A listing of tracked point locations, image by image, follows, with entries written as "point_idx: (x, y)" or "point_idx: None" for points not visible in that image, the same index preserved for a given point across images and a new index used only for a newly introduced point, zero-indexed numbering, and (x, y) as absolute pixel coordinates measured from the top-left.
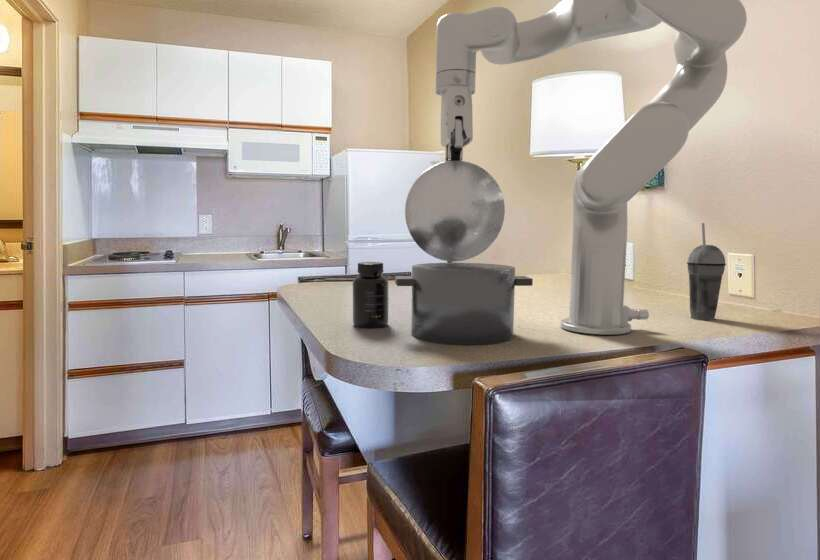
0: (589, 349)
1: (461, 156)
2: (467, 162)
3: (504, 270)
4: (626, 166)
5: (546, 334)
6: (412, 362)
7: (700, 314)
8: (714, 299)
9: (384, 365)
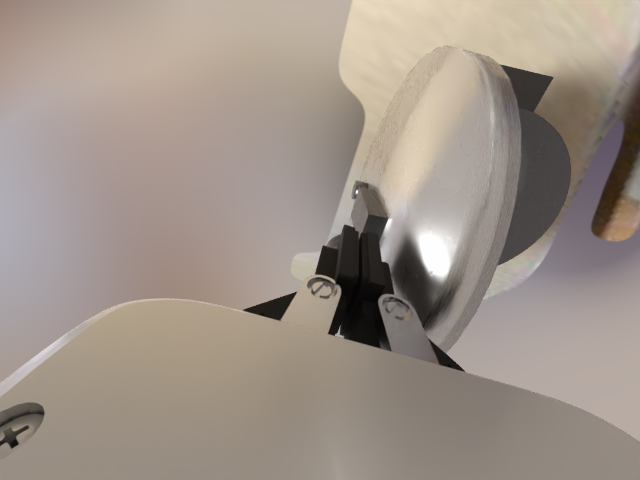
0: (623, 41)
1: (416, 324)
2: (481, 295)
3: (570, 168)
4: None
5: (501, 49)
6: (517, 266)
7: None
8: None
9: (511, 287)
